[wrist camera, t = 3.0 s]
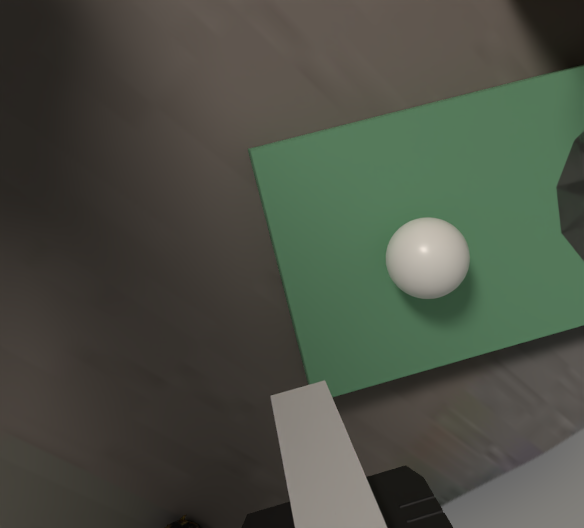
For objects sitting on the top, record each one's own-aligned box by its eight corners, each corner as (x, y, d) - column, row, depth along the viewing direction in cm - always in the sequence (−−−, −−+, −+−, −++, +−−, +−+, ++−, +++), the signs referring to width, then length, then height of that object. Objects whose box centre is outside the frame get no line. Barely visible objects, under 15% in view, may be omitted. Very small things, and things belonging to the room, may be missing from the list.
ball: (383, 294, 29) (409, 319, 25) (369, 222, 28) (393, 237, 24) (454, 275, 29) (490, 297, 25) (442, 203, 28) (478, 214, 24)
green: (307, 382, 32) (314, 402, 30) (247, 149, 28) (250, 150, 26) (705, 269, 34) (742, 279, 31) (696, 35, 30) (738, 27, 28)
